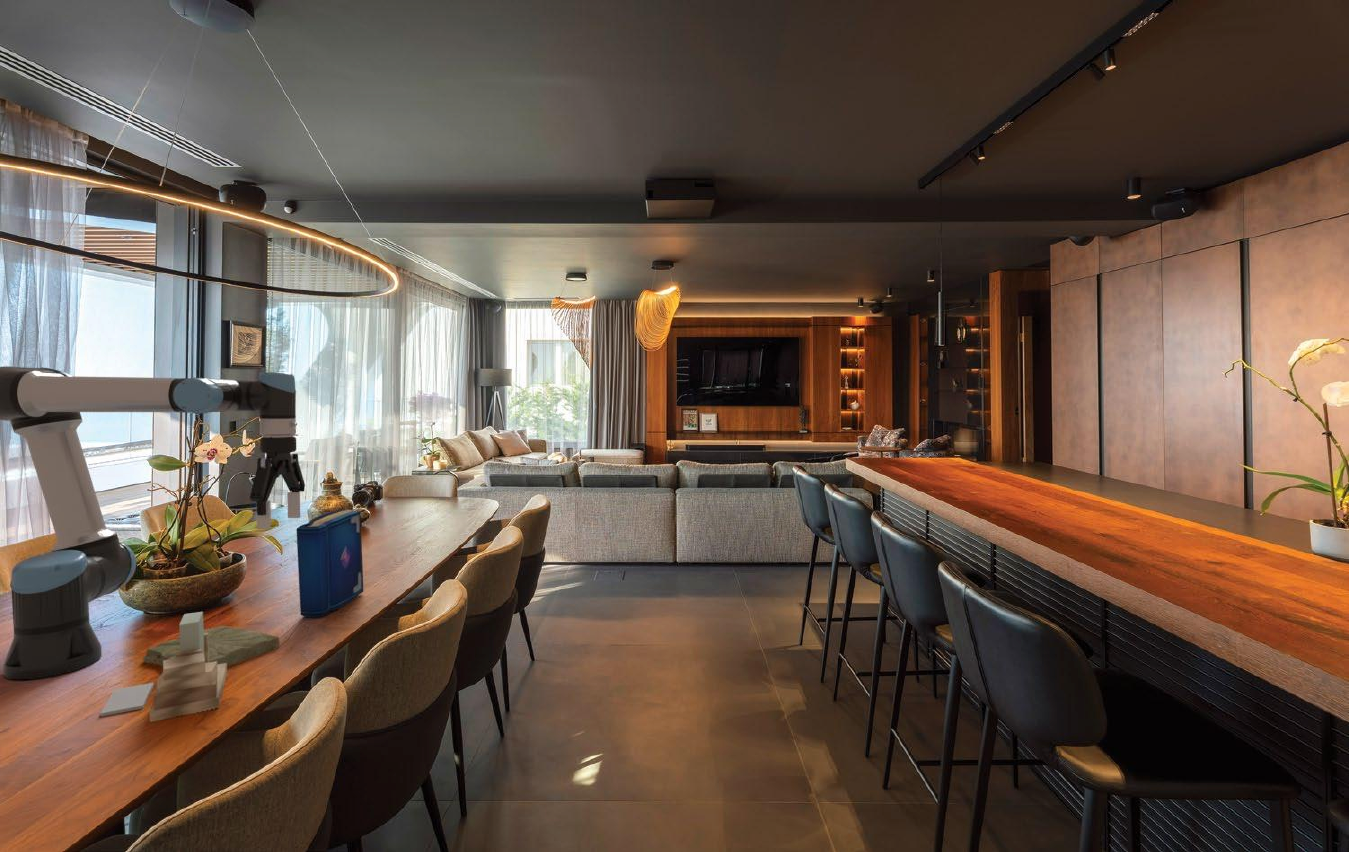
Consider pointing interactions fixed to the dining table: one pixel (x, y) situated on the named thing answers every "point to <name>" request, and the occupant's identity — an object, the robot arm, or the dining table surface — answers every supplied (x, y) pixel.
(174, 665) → the offcut top
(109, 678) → the dining table surface
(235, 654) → the decorative tile
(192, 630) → the pale green block
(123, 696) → the felt mat
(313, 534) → the book
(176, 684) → the block
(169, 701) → the offcut bottom
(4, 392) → the robot arm
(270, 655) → the dining table surface
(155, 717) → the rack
